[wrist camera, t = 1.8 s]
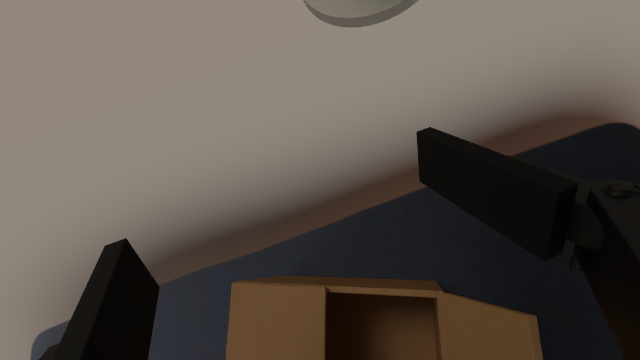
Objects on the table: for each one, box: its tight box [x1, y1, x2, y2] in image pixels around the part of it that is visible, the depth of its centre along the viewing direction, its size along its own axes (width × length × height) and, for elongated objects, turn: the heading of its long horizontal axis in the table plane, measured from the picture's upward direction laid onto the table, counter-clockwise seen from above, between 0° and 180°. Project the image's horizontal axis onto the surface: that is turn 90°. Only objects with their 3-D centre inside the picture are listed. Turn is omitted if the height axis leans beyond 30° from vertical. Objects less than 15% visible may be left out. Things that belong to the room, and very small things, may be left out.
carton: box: [226, 275, 448, 360], centre depth 27 cm, size 13×17×11 cm
